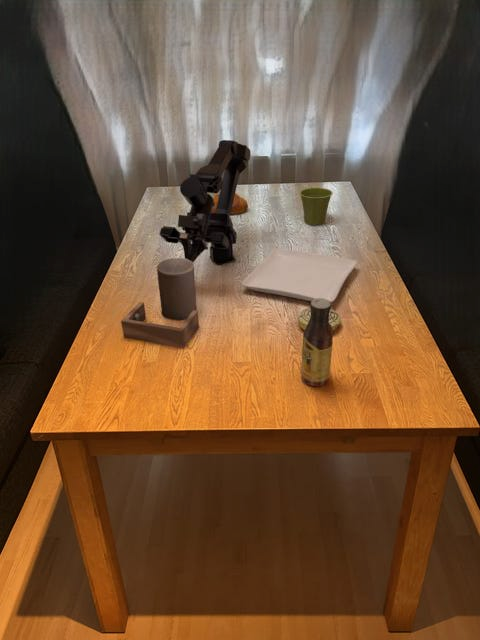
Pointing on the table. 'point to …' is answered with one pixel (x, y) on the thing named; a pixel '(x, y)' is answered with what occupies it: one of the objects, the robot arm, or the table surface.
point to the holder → (158, 329)
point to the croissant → (237, 206)
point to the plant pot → (315, 204)
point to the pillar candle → (177, 288)
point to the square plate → (300, 275)
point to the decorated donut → (306, 314)
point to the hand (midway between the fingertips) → (187, 266)
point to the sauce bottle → (317, 344)
